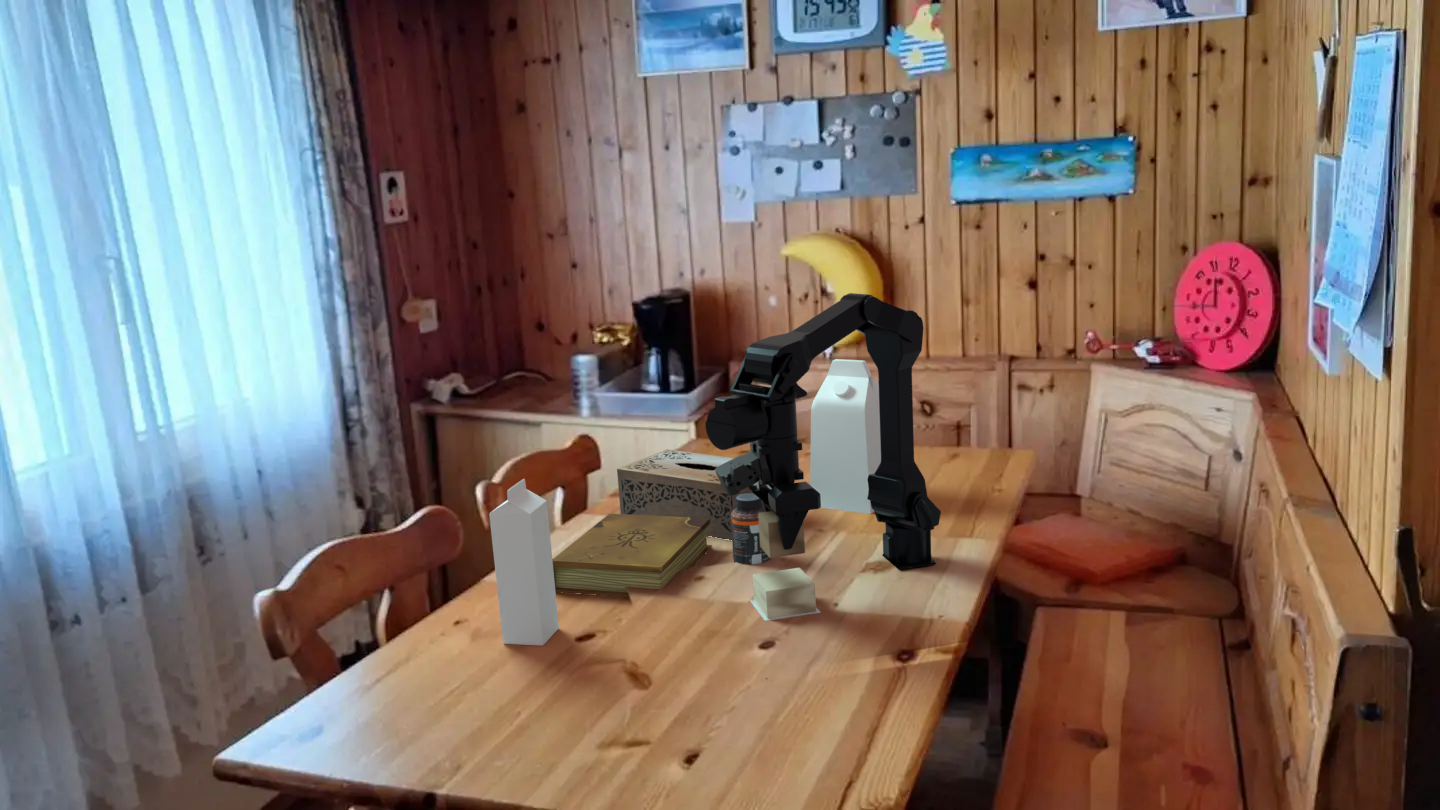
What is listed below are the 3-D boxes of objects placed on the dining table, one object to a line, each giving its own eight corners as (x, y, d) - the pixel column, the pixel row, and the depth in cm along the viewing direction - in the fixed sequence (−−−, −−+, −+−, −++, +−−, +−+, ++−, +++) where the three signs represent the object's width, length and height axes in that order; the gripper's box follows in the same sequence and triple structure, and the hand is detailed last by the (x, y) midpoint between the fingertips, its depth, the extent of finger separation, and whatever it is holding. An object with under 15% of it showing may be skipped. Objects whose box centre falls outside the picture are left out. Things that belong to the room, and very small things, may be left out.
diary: (607, 545, 206) (605, 513, 205) (712, 551, 200) (710, 518, 199) (548, 595, 185) (545, 559, 183) (663, 602, 179) (661, 565, 178)
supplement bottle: (768, 572, 187) (764, 502, 185) (730, 572, 188) (726, 502, 186) (774, 559, 193) (770, 490, 190) (737, 558, 194) (733, 490, 192)
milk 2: (897, 495, 222) (893, 356, 216) (870, 514, 212) (865, 368, 207) (838, 488, 228) (833, 353, 222) (809, 506, 219) (803, 364, 213)
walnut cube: (794, 542, 171) (792, 508, 170) (805, 553, 167) (803, 518, 165) (760, 546, 170) (758, 512, 169) (770, 558, 165) (768, 523, 164)
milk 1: (502, 644, 166) (485, 490, 162) (520, 626, 172) (503, 477, 167) (544, 646, 165) (527, 491, 160) (560, 628, 171) (544, 477, 166)
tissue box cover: (786, 519, 213) (783, 464, 211) (739, 543, 202) (735, 486, 200) (671, 500, 228) (667, 449, 226) (621, 522, 217) (616, 468, 215)
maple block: (800, 593, 174) (799, 567, 173) (816, 611, 168) (814, 584, 167) (754, 600, 173) (752, 574, 172) (767, 618, 166) (765, 591, 165)
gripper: (703, 426, 172) (710, 530, 175) (736, 457, 154) (743, 573, 157) (778, 417, 174) (783, 520, 178) (819, 447, 157) (824, 561, 160)
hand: (781, 543), depth 168 cm, fingers closed on walnut cube, 5 cm apart
